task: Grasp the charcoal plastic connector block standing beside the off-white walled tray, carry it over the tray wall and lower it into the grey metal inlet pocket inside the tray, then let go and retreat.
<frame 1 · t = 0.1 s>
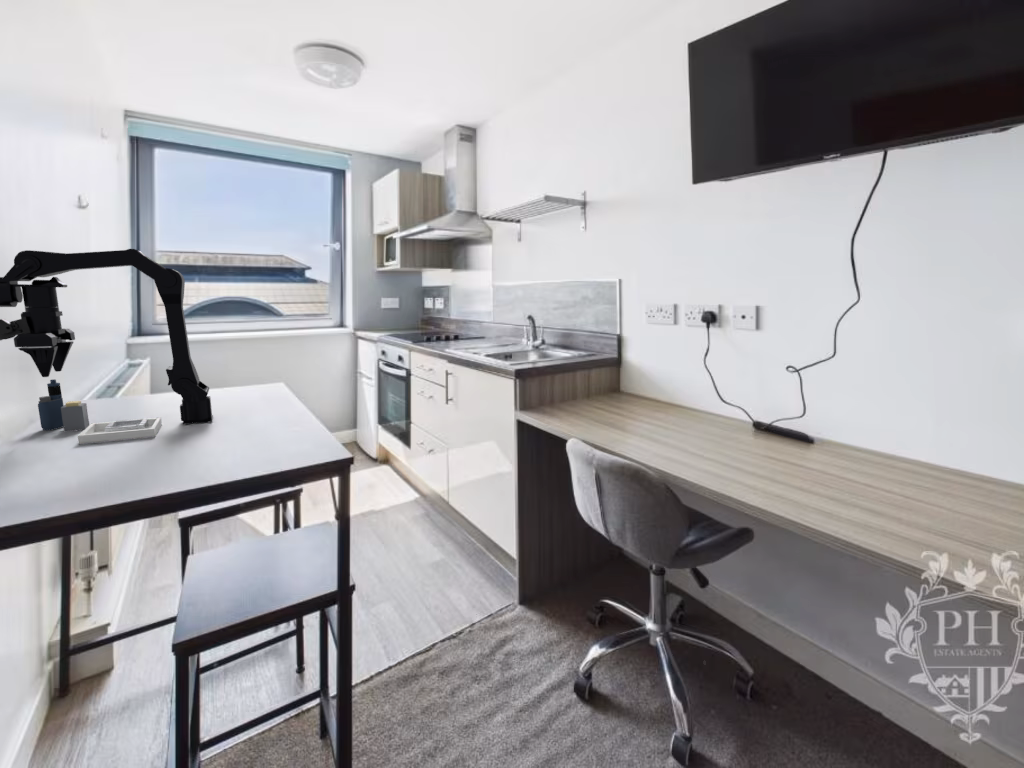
hand: (52, 374, 116), 14 cm above the table, fingers open, 9 cm apart
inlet: (128, 433, 119), resting on walled tray
connector: (77, 428, 123), on the table
vaping device: (54, 428, 123), on the table
walled tray: (123, 434, 119), on the table
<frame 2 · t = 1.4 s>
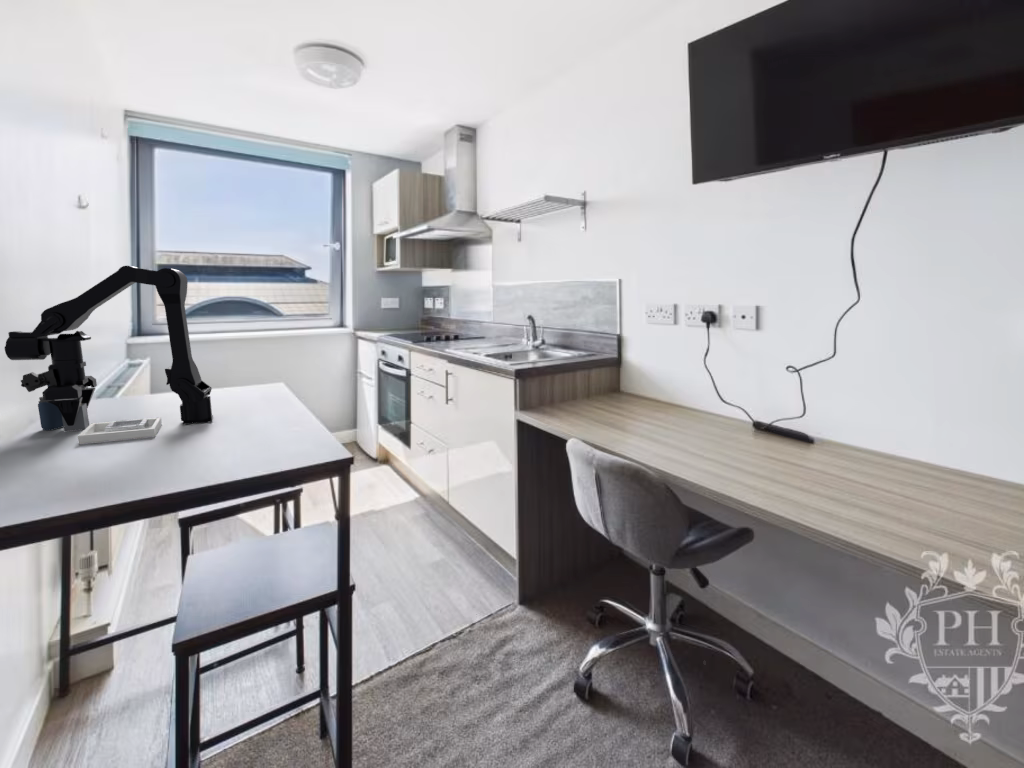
hand: (76, 421, 123), 2 cm above the table, fingers open, 9 cm apart
nothing on the table moved.
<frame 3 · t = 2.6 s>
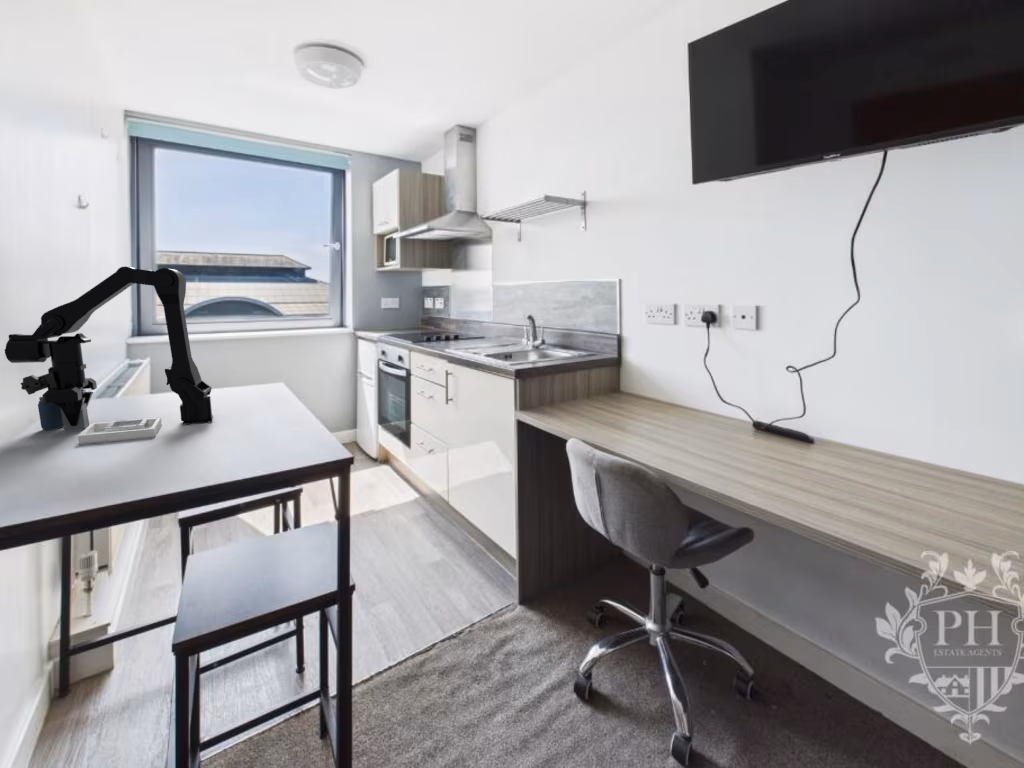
hand: (76, 423, 123), 1 cm above the table, fingers closed on connector, 4 cm apart
connector: (77, 428, 123), on the table, touching gripper
everything else where it was.
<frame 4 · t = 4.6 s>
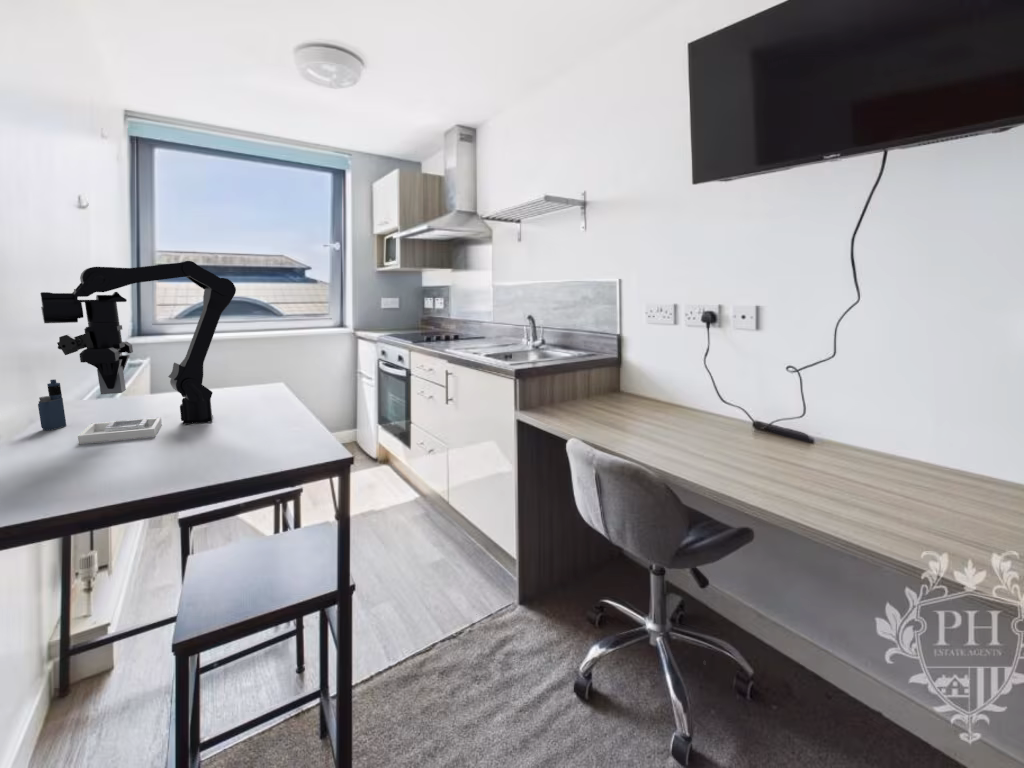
hand: (113, 387, 118), 11 cm above the table, fingers closed on connector, 4 cm apart
connector: (113, 392, 118), point 10 cm above the table, touching gripper
everything else where it was.
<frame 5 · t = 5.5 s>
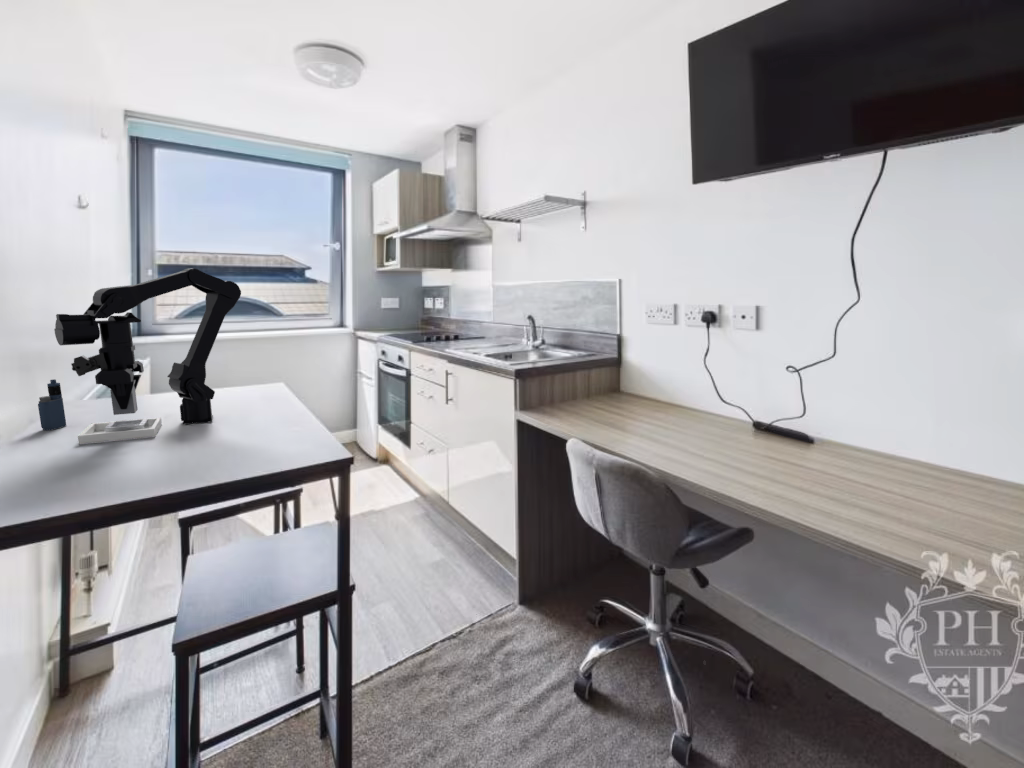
hand: (125, 407, 118), 7 cm above the table, fingers closed on connector, 4 cm apart
connector: (125, 412, 118), point 5 cm above the table, touching gripper
everything else where it was.
when the fingers open (3 cm above the table, at t = 6.5 s): connector drops 2 cm, resting on walled tray.
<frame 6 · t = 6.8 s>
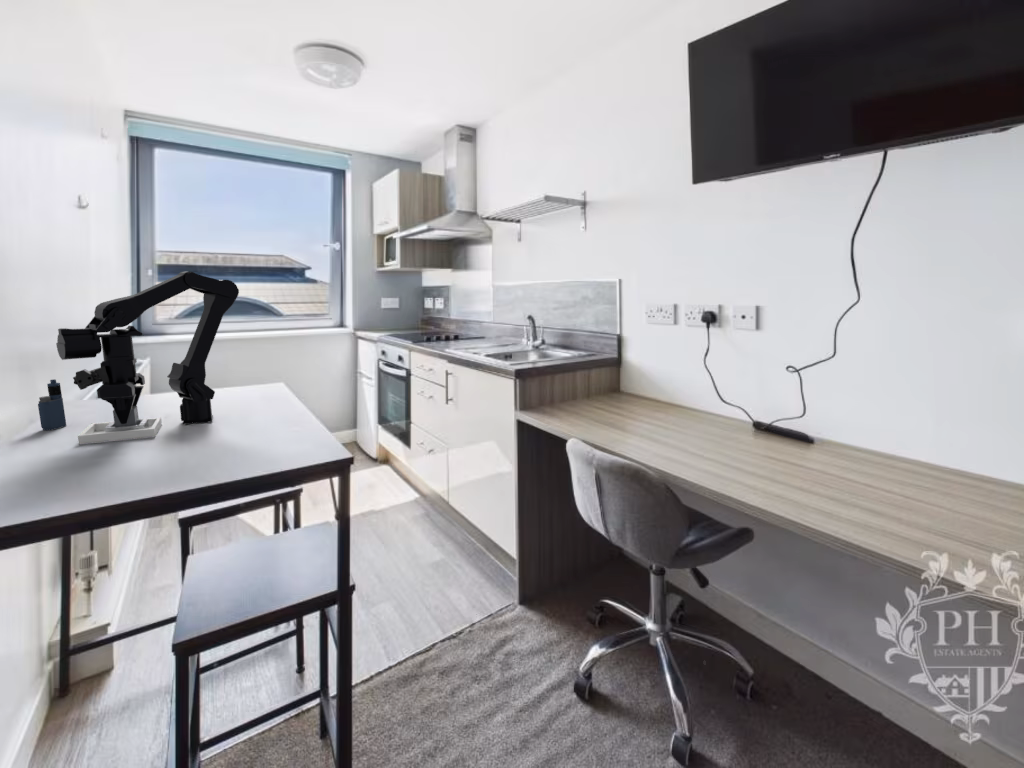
hand: (127, 420, 119), 3 cm above the table, fingers open, 7 cm apart
connector: (128, 432, 119), resting on walled tray
everything else where it was.
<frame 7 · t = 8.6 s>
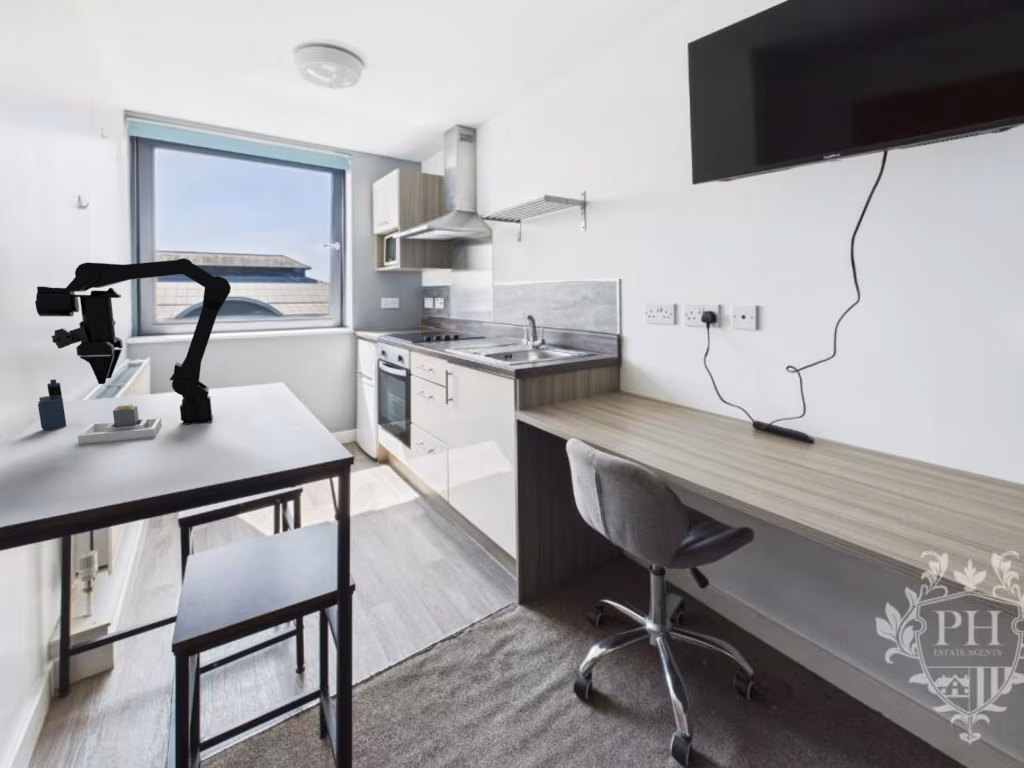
hand: (105, 381, 120), 12 cm above the table, fingers open, 9 cm apart
nothing on the table moved.
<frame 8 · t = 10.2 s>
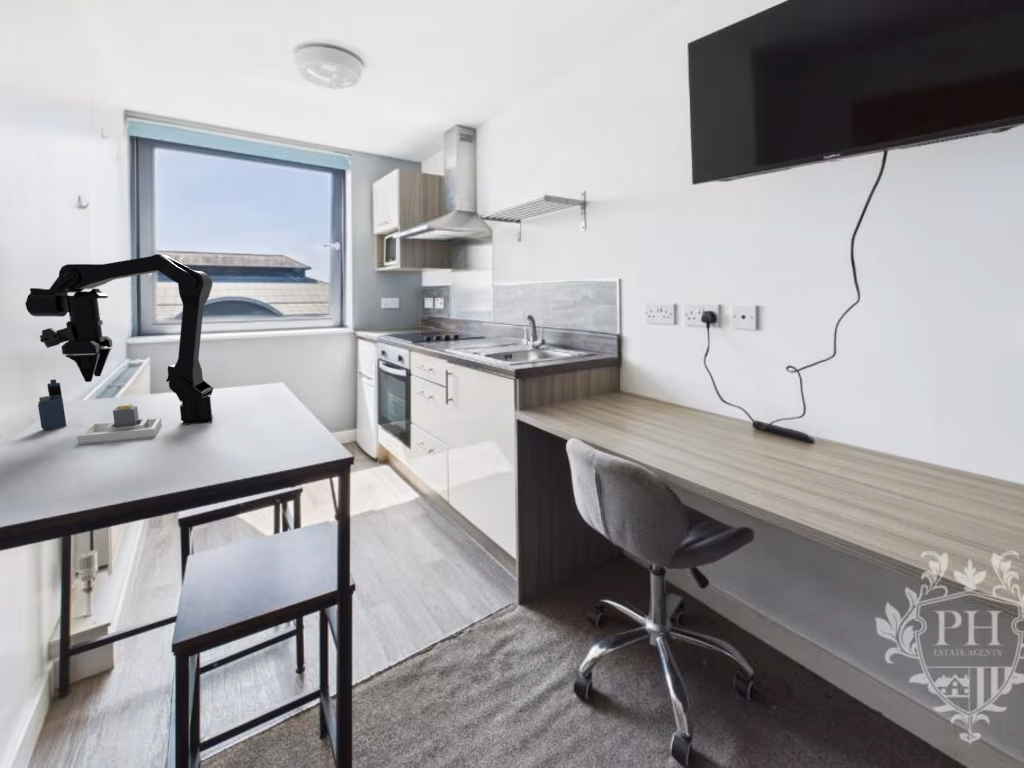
hand: (93, 378, 124), 12 cm above the table, fingers open, 9 cm apart
nothing on the table moved.
at the end: connector 0.0 cm off-centre on the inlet, point 0.3 cm above the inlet's base; connector tilted 0°; the gripper is holding nothing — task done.
